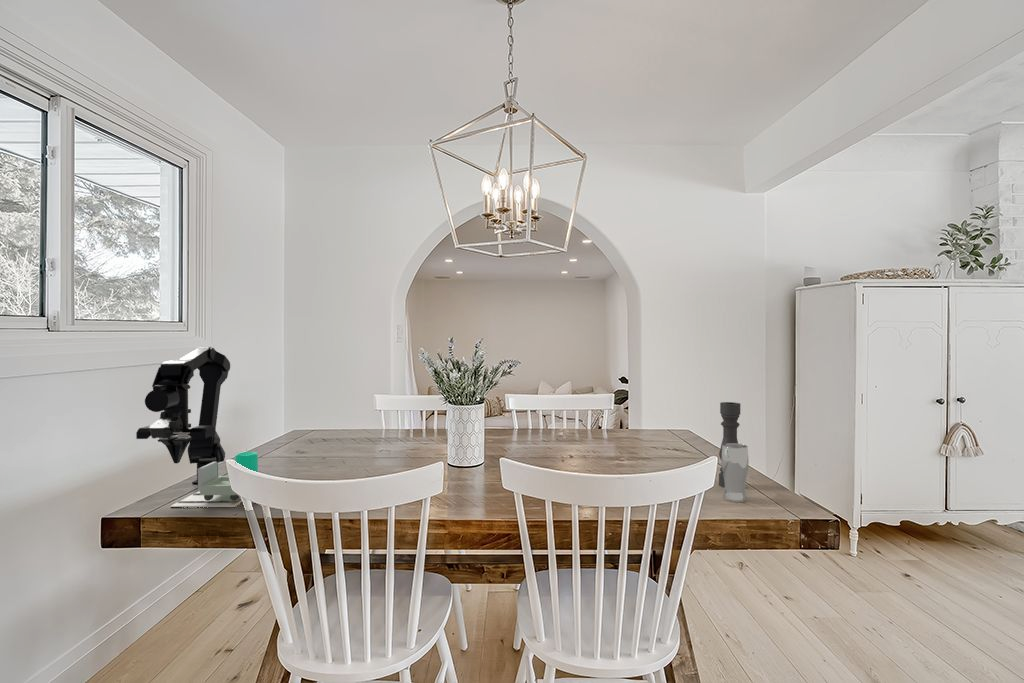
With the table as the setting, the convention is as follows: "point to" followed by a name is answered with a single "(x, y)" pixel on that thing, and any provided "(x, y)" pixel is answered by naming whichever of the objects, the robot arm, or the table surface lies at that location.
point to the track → (199, 501)
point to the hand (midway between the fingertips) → (176, 463)
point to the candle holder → (728, 428)
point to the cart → (213, 483)
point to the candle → (248, 460)
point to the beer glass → (734, 471)
